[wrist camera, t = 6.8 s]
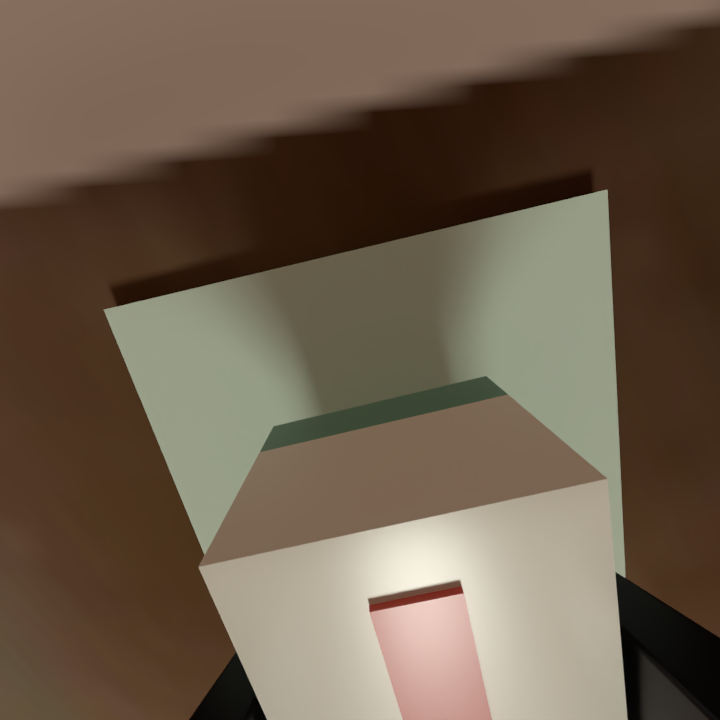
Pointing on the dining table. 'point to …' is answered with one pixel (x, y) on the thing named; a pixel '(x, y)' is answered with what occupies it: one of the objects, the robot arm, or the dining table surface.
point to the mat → (384, 344)
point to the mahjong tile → (422, 566)
